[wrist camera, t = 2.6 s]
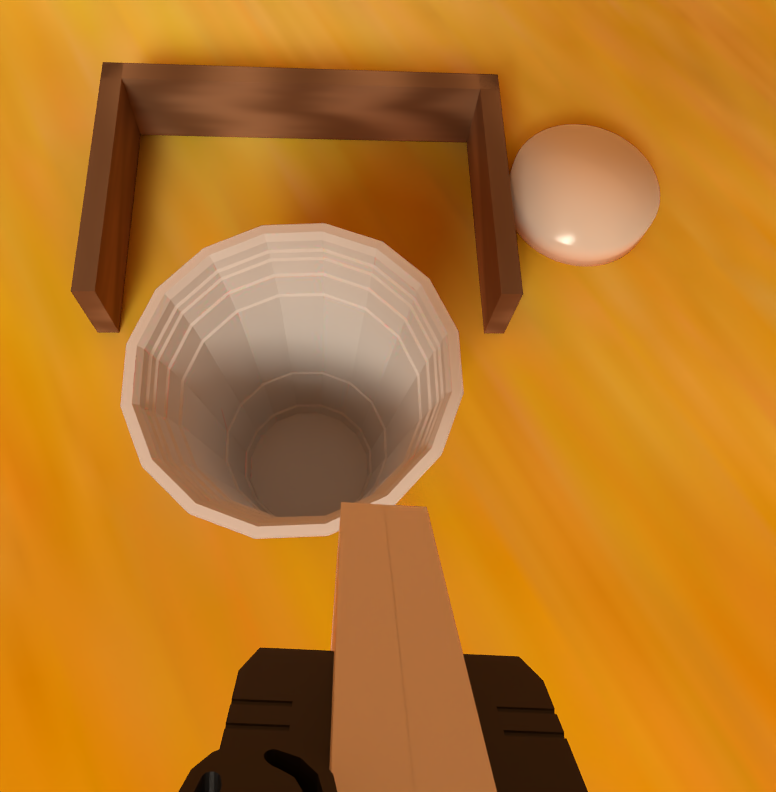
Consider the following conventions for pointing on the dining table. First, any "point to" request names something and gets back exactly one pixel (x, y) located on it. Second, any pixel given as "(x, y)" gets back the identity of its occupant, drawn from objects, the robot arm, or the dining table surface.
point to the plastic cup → (291, 379)
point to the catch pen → (290, 118)
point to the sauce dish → (582, 194)
